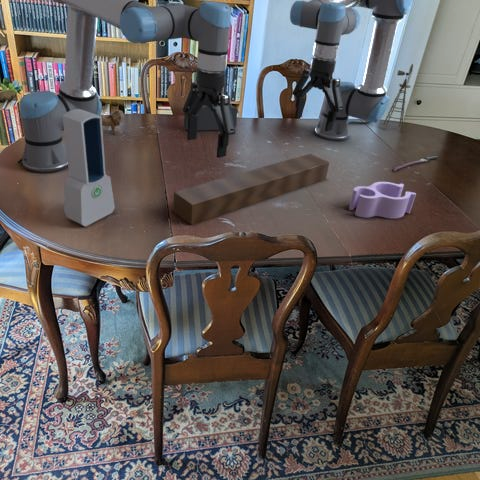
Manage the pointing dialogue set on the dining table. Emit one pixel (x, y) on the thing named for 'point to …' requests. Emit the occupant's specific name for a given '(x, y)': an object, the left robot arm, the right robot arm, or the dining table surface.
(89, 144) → the electronic device
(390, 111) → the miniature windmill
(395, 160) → the dining table surface
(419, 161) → the sword
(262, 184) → the wide beam
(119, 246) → the dining table surface
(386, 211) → the clip
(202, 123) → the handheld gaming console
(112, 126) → the lion figurine
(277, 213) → the dining table surface
